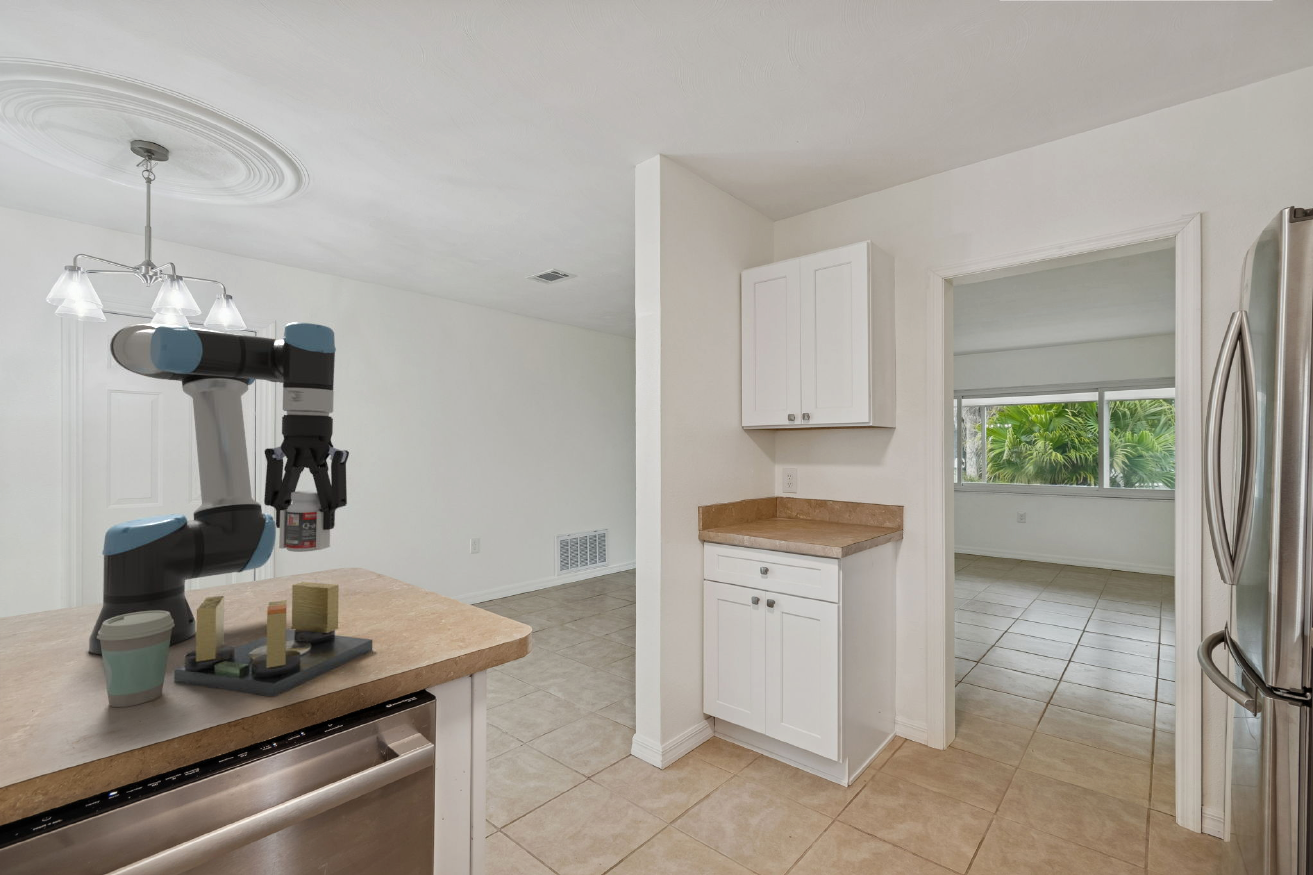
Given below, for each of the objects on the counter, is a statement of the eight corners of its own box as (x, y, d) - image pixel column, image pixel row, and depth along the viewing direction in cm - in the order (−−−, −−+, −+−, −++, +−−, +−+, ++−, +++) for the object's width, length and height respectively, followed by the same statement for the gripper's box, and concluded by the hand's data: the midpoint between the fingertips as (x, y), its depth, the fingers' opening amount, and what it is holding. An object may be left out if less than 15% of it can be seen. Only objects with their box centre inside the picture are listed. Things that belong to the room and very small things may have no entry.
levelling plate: (174, 681, 91) (174, 661, 91) (285, 639, 110) (286, 623, 110) (273, 697, 86) (273, 675, 86) (372, 650, 105) (372, 632, 105)
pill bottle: (306, 553, 96) (307, 494, 96) (277, 551, 97) (278, 492, 97) (332, 546, 102) (333, 491, 101) (304, 544, 103) (305, 489, 103)
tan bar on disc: (253, 666, 92) (254, 600, 92) (300, 658, 96) (300, 594, 96) (250, 683, 85) (251, 612, 86) (300, 674, 89) (301, 606, 89)
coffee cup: (129, 687, 89) (130, 609, 89) (187, 685, 89) (188, 608, 90) (78, 713, 80) (79, 627, 80) (143, 711, 81) (144, 626, 81)
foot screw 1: (190, 659, 95) (191, 599, 95) (237, 652, 98) (238, 594, 98) (179, 676, 88) (180, 611, 88) (230, 668, 91) (231, 606, 91)
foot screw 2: (281, 643, 103) (282, 587, 103) (312, 631, 109) (312, 579, 109) (317, 647, 100) (318, 590, 101) (346, 635, 107) (347, 582, 107)
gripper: (239, 411, 96) (235, 549, 96) (348, 415, 95) (345, 554, 95) (270, 413, 103) (267, 541, 103) (372, 416, 102) (369, 545, 103)
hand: (304, 547), depth 99 cm, fingers closed on pill bottle, 6 cm apart
